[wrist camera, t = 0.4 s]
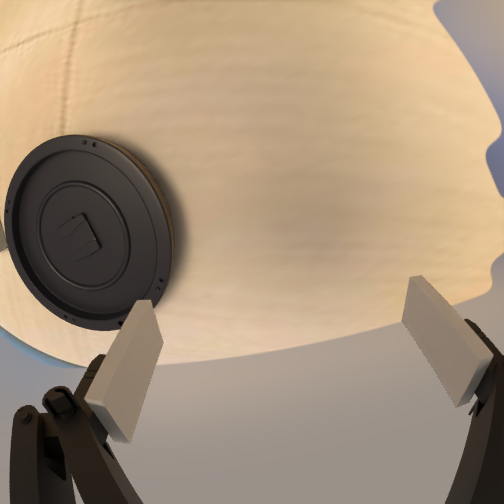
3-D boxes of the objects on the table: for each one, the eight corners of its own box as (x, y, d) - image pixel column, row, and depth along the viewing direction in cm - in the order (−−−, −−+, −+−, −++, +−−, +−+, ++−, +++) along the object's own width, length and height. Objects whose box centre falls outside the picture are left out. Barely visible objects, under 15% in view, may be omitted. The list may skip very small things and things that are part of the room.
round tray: (2, 194, 39) (80, 330, 49) (-19, 203, 33) (67, 349, 44) (125, 94, 34) (216, 276, 45) (106, 89, 29) (212, 297, 39)
